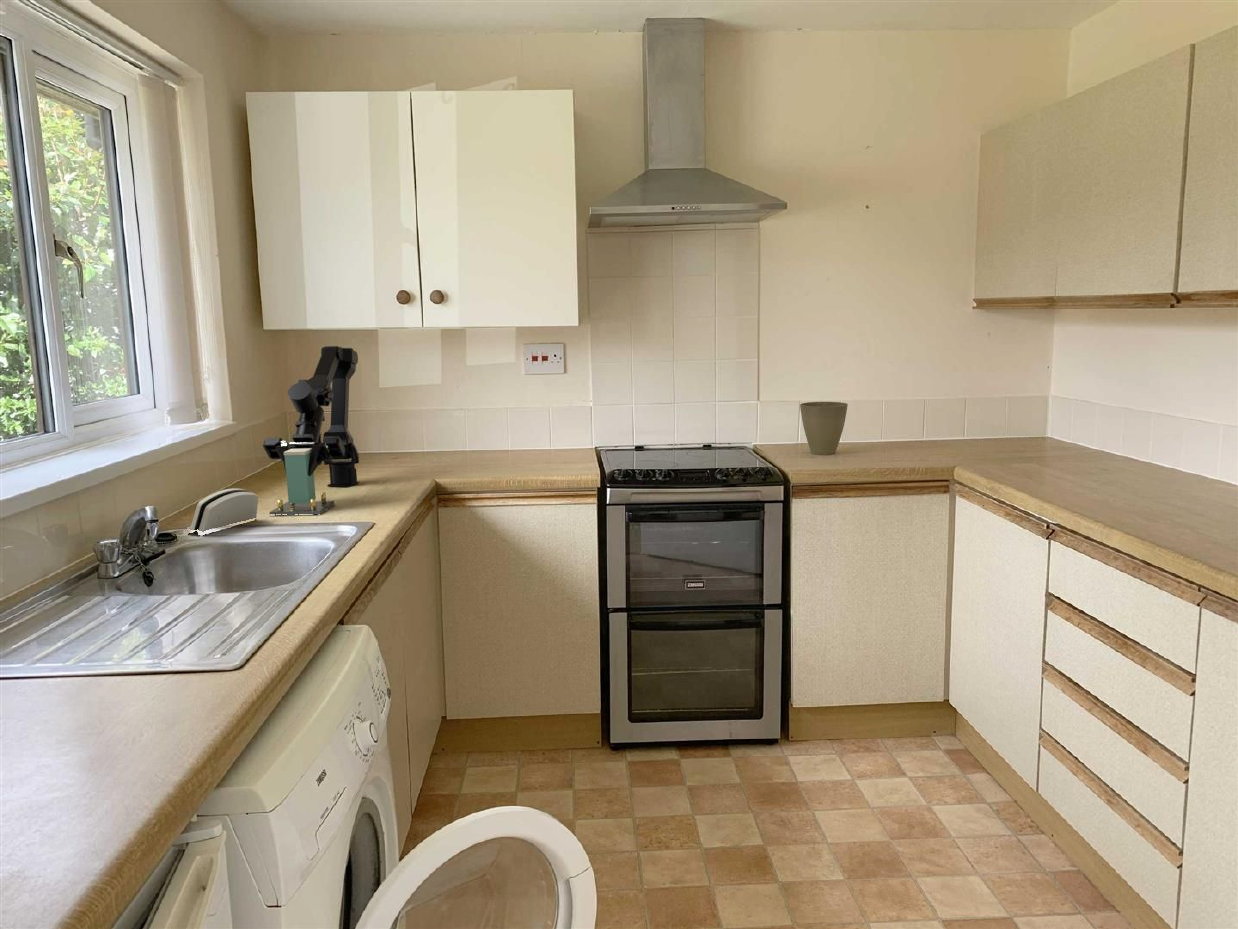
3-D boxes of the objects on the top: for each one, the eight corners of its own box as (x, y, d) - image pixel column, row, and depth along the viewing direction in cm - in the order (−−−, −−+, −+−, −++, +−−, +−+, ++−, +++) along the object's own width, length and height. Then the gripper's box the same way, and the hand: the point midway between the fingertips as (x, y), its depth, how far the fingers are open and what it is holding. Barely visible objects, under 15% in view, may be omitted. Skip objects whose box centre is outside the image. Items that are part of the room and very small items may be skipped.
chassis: (287, 505, 233) (286, 492, 233) (334, 504, 233) (333, 491, 233) (269, 516, 222) (268, 502, 221) (319, 515, 221) (318, 500, 221)
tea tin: (295, 499, 230) (291, 448, 227) (316, 498, 230) (312, 448, 227) (288, 503, 224) (283, 452, 222) (309, 502, 224) (305, 451, 222)
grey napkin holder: (240, 518, 220) (247, 480, 217) (255, 526, 218) (263, 488, 215) (184, 535, 204) (191, 494, 202) (200, 543, 203) (207, 502, 200)
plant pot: (792, 451, 302) (793, 402, 299) (835, 448, 305) (836, 400, 302) (810, 458, 288) (810, 407, 285) (854, 455, 290) (855, 405, 287)
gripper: (354, 443, 240) (345, 492, 231) (282, 444, 240) (270, 494, 231) (343, 416, 231) (333, 467, 222) (268, 418, 231) (255, 469, 222)
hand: (298, 475), depth 225 cm, fingers closed on tea tin, 5 cm apart
